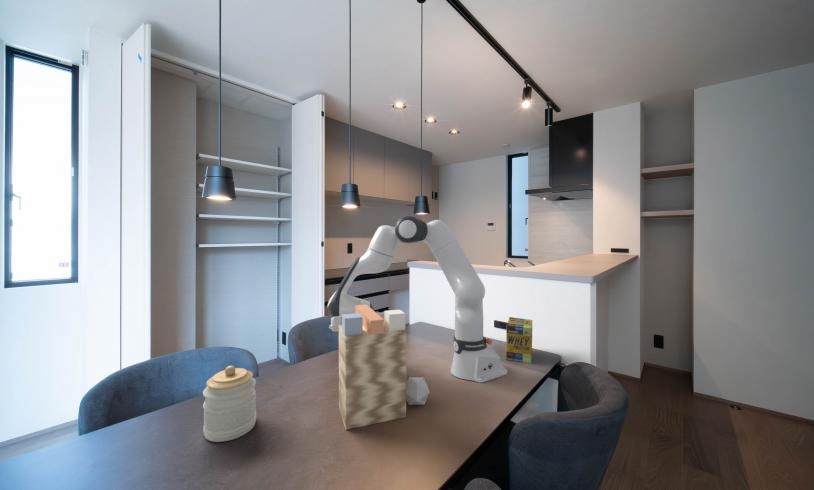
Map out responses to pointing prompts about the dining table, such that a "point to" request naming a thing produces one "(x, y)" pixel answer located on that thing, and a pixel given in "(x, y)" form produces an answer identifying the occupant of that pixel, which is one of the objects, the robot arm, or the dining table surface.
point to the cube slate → (352, 324)
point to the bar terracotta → (370, 319)
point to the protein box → (519, 340)
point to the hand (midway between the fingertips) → (363, 315)
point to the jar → (229, 404)
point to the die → (416, 391)
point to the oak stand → (372, 377)
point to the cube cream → (394, 320)
